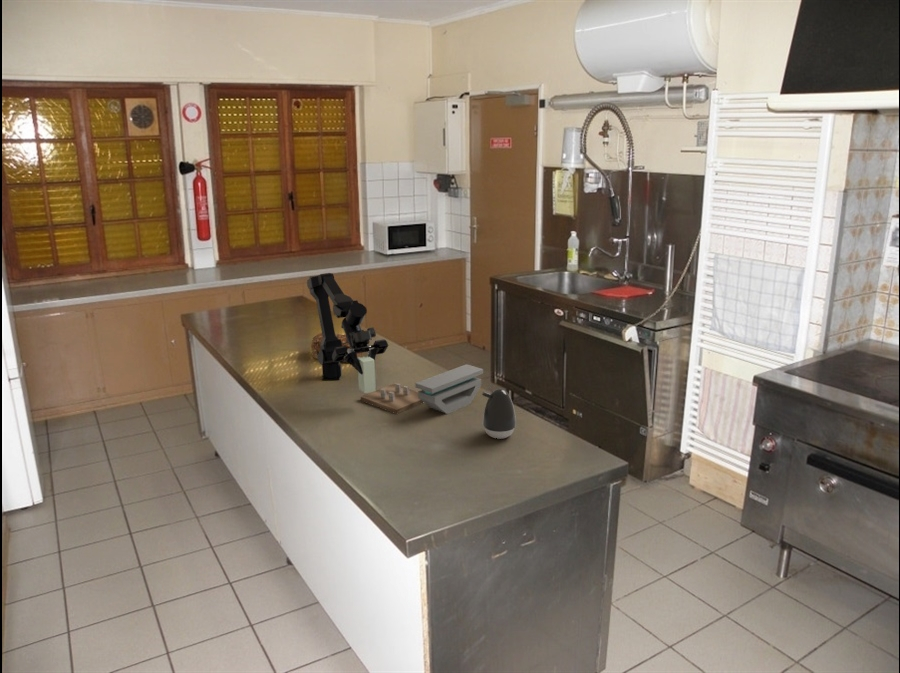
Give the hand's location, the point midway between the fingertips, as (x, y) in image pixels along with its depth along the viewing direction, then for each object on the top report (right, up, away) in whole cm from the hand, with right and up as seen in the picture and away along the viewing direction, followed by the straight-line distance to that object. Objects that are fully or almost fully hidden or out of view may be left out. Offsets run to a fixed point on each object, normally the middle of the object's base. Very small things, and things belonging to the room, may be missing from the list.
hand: (368, 372), depth 230 cm
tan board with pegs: (+8, -10, +11) cm, 17 cm away
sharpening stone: (+27, -12, +6) cm, 30 cm away
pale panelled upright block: (-1, -6, +3) cm, 7 cm away
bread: (-19, +3, +55) cm, 58 cm away
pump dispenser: (+42, -19, -17) cm, 49 cm away
